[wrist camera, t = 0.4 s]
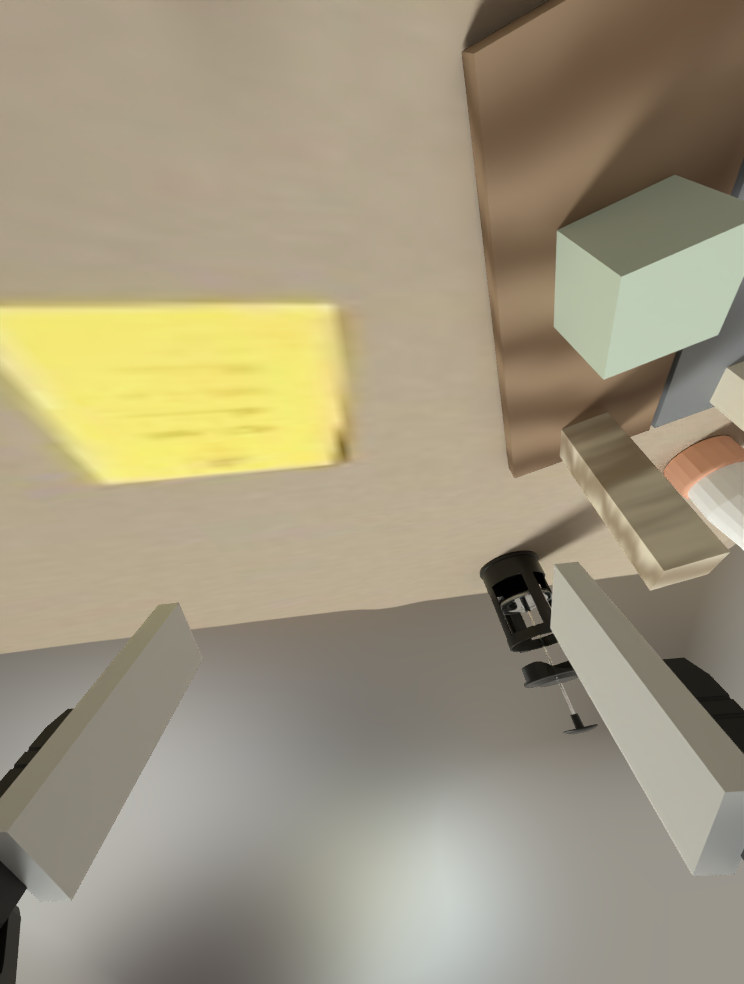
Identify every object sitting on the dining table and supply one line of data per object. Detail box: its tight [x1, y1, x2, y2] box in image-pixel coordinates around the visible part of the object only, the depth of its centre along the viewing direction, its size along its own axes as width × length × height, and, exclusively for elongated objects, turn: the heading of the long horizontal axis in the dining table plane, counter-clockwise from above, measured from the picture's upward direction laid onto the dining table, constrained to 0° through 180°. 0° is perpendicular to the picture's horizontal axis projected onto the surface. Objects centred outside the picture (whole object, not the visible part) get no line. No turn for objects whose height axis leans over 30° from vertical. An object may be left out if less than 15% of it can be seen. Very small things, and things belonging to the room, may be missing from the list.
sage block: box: [554, 175, 744, 380], centre depth 20 cm, size 6×6×6 cm
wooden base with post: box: [462, 0, 744, 590], centre depth 21 cm, size 30×13×16 cm, turn 21°
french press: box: [480, 551, 598, 734], centre depth 53 cm, size 12×9×23 cm
